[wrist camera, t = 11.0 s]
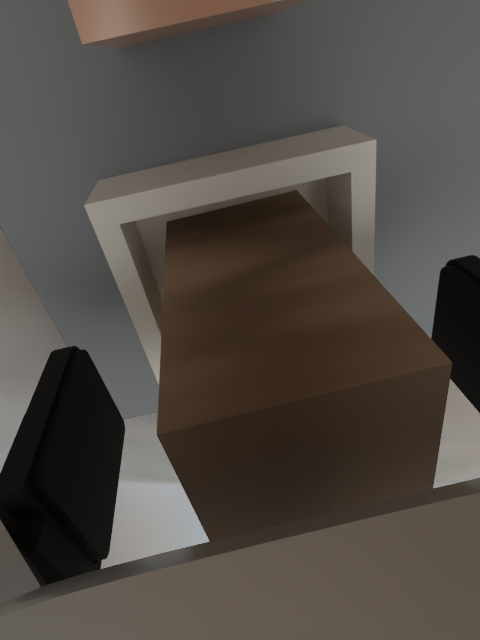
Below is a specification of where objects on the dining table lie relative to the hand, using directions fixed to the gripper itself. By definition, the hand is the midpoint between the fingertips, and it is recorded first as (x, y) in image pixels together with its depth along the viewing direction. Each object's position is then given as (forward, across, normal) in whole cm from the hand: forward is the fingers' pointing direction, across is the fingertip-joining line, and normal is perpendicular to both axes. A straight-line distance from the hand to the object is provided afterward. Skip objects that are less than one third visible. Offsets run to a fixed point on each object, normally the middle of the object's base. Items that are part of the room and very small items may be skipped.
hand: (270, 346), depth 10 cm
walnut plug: (+5, 0, 0) cm, 5 cm away
